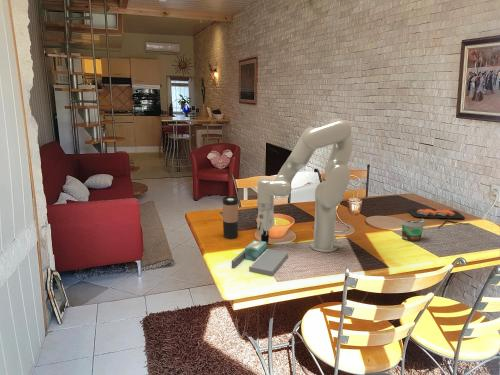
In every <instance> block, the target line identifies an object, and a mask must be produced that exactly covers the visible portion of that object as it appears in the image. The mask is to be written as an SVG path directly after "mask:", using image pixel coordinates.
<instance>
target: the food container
mask: <svg viewBox="0 0 500 375" xmlns="http://www.w3.org/2000/svg"><path fill="white" fill-rule="evenodd" d="M400 225H401V232H402V233H401V240H403V241H405V242H412V243H414V242H415V243H417V242H420V241H421V239H422V234H423V231H424V227H425V226H426V221H425V219H424V218H421V219H419V220H413V219H412V220H408V221H406V220H401V223H400Z"/></svg>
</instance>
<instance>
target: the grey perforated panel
mask: <svg viewBox="0 0 500 375" xmlns="http://www.w3.org/2000/svg"><path fill="white" fill-rule="evenodd" d="M288 257H289V252H288V251H282V250H275V249H271V248H266V250H265V251H264V252H263V253H262V254H261V255H260V256H259V257H258V258H257V259H256V260H254V261H253V263H251V265H249V267H248V271H249V272H250V273H255V274H260V275H266V276H270V277H273V276H274V274H275V273H276V272H277V271H278V270H279V268H280V267H281V266H282V265H283V264H284V262H285V261H286V260H287V258H288ZM244 259H245V249H244V250H242V251H241V252H239V254H238V255H237V256H236V257H234V259H232V260H231V268H232V269H235V268H236V267H237V266H239V264H241V262H242V261H244ZM277 269H278V270H277ZM272 275H273V276H272Z"/></svg>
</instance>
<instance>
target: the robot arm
mask: <svg viewBox="0 0 500 375" xmlns="http://www.w3.org/2000/svg"><path fill="white" fill-rule="evenodd" d="M353 140H354V139H353V135H352V126H351V124H350V123H349V122H348V121H347V120H344V119H342V118H332V119H330V120H329V122H328V123H327V125H323V126H320V127H313V126H310V127H307V128H306V129H305V130H304V131H303V133H302V134H301V136H300V137H299V139H298V141H297V143H295V144H296V145H295V146H294V148H293V149H292V151H291V153H290V155H289V156H288V157H287V159H286V161H285V162H284V163H283V165H281V168H280V170H279V171H278V173H277V175H276V176H275V179H274V180H273V179H272V178H268V177H264V178H259V179H258V180H257V195H256V196H257V202H256V204H257V206H256V207H257V208H256V209H258V210H257V211H258V212H257V221H256V222H257V223H256V225H257V230H258V231H259V235H260V241H263V242H266V245H268V243H269V241H270V239H269V238H270V236H269V235H270V230H271V229H272V228H273V227H274V226H275V215H274V214H275V213H274V210H275V209H274V207H275V204H274V203H275V202H274V201H275V196H276V197H280V198H281V197H282V198H284V197H287V196H289V195H291V192H292V185H291V183H292V181H293V180H294V178H295V176H296V175H297V173H298V172H299V171H300V170H301V169H303V168H304V167H306V166H307V165H308V164H309V162H310V160H311V158H312V156H313V155H314V153H315V152H316V150H318V149H321V148H325V147H328V146H331V147H332V148H331V152H330V154H329V157H328V159H327V161H326V165H325V166H324V174H325V177H326V179H325V180H324V181H321V182H319V183H318V184H317V185H316V187H315V191H314V201H315V202H314V203H315V204H314V208H315V209H314V227H313V240H312V241H311V242H310V244H309V247H310V248H311V249H312V250H314V251H316V252H320V253H332V252H334V251H336V250H338V248H344V243H343V242H342V241H339V240H337V238H336V237H335V233H336V220H337V207H338V206H339V205H340V204H341V202H342V200H343V198H344V196H345V194H346V190H347V187H348V185H349V182H350V180H351V170H350V168H349V166H348V163H349V161H350V159H351V154H352V151H353V146H354V145H353V144H354V141H353Z"/></svg>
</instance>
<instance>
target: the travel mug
mask: <svg viewBox="0 0 500 375" xmlns="http://www.w3.org/2000/svg"><path fill="white" fill-rule="evenodd" d="M222 231H223V237H224V239H227V240H233V239H237V238H238V236H239V235H238V234H239V198H238V197H236V196H229V195H228V196H225V197H223V198H222Z"/></svg>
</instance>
